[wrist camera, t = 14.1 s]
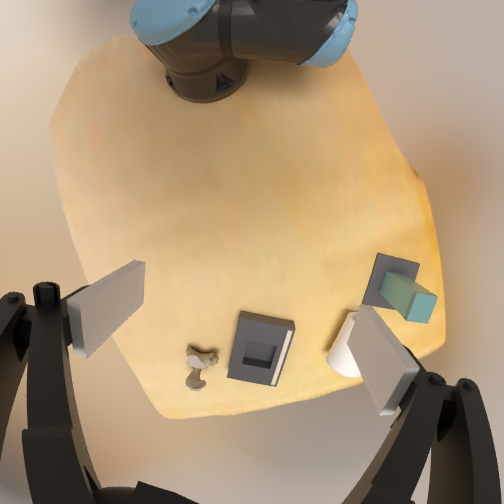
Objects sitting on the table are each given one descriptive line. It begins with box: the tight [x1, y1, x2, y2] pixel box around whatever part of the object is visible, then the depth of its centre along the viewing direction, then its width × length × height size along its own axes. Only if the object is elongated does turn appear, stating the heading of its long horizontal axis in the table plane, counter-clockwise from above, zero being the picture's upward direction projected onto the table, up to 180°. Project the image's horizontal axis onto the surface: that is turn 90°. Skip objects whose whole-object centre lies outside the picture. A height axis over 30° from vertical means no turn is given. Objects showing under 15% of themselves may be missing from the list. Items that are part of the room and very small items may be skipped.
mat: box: [362, 253, 420, 310], centre depth 46 cm, size 10×10×1 cm
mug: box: [326, 312, 361, 377], centre depth 45 cm, size 12×10×8 cm
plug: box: [379, 271, 438, 324], centre depth 40 cm, size 5×5×12 cm
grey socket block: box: [227, 311, 295, 387], centre depth 49 cm, size 14×10×3 cm
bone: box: [186, 346, 219, 391], centre depth 48 cm, size 9×6×10 cm
